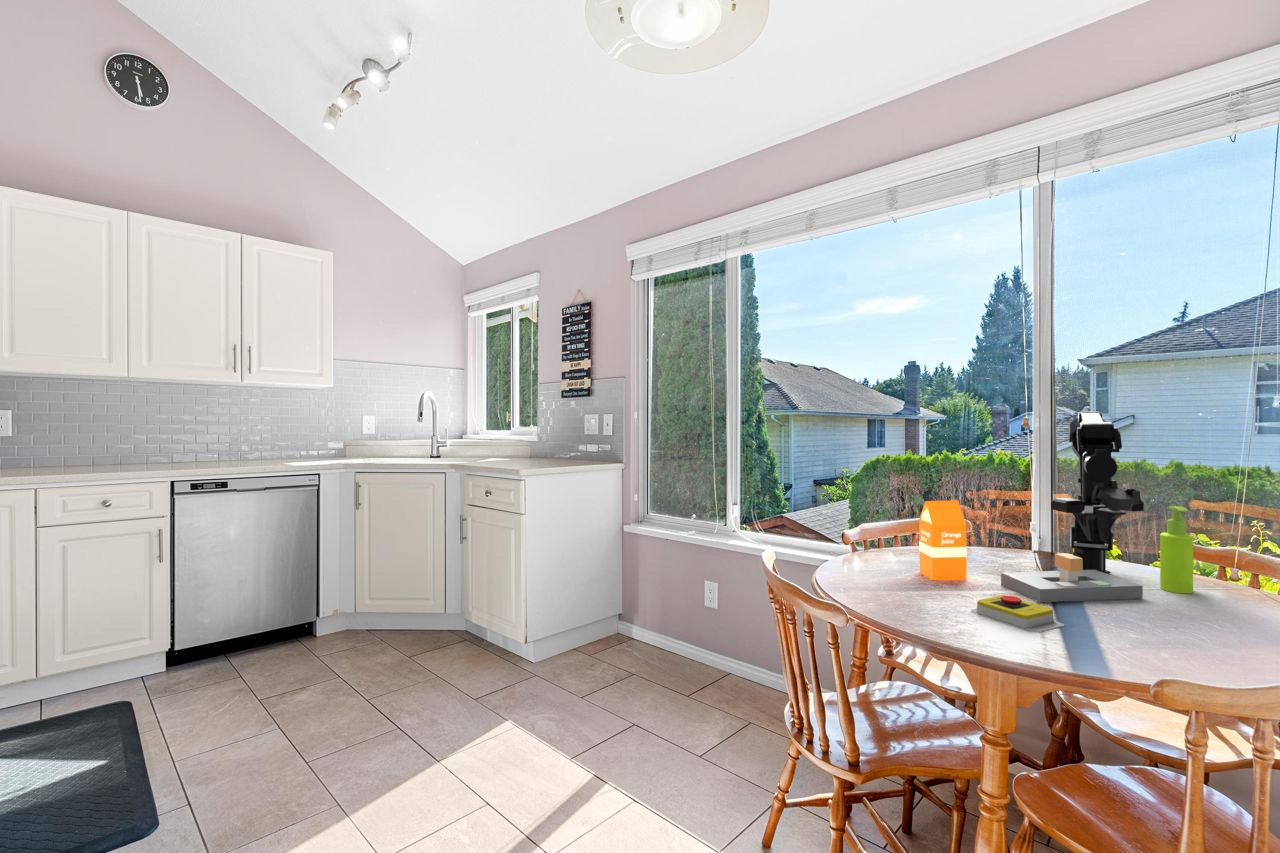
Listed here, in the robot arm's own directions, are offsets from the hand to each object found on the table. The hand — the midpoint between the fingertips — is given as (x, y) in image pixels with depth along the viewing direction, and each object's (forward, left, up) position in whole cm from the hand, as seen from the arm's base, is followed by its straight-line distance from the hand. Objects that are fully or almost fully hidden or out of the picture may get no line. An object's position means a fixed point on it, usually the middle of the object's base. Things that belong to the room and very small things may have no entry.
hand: (1096, 540), depth 145 cm
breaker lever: (+7, 0, -11) cm, 13 cm away
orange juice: (+29, -16, -12) cm, 35 cm away
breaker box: (+7, 0, -12) cm, 14 cm away
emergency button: (+31, +16, -13) cm, 37 cm away
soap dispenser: (-18, +2, -12) cm, 22 cm away
